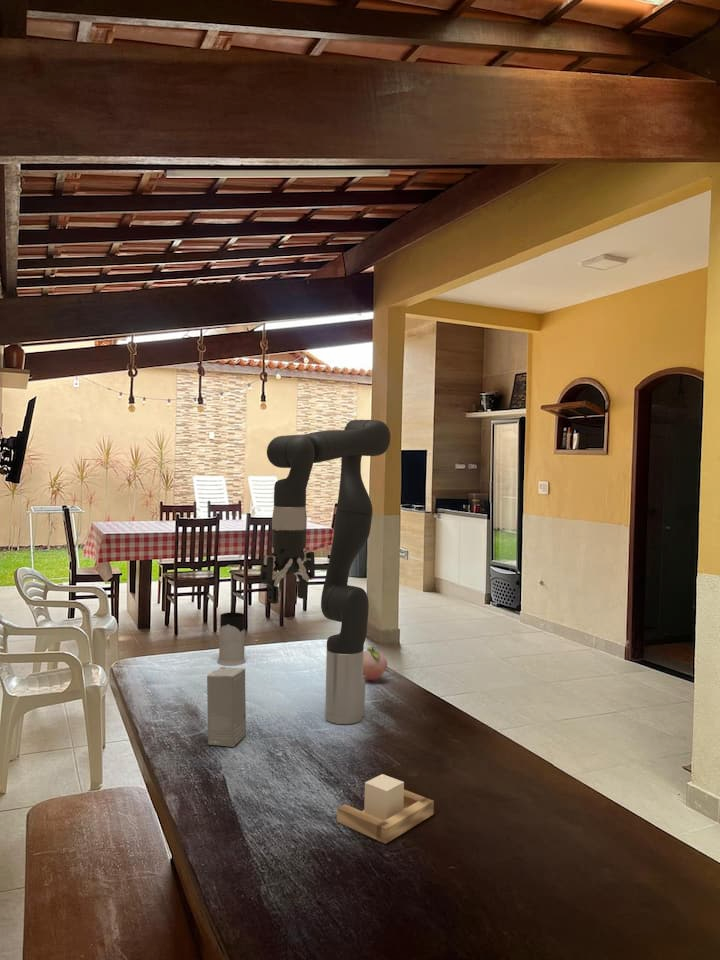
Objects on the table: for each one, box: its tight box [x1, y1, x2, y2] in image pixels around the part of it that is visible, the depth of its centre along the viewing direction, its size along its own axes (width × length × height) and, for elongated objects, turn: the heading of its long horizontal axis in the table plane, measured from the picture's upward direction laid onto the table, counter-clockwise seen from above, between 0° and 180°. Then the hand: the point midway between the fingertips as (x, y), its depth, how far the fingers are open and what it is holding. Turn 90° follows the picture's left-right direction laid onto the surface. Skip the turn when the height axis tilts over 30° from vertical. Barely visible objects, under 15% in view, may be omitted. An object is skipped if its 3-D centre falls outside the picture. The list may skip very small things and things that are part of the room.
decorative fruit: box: [363, 646, 388, 682], centre depth 213 cm, size 9×8×10 cm
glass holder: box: [217, 612, 246, 667], centre depth 232 cm, size 9×14×15 cm, turn 170°
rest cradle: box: [336, 789, 435, 845], centre depth 130 cm, size 14×11×2 cm
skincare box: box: [206, 666, 247, 748], centre depth 165 cm, size 8×7×16 cm
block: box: [363, 773, 405, 821], centre depth 131 cm, size 5×5×6 cm
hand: (287, 600), depth 159 cm, fingers open, 8 cm apart
